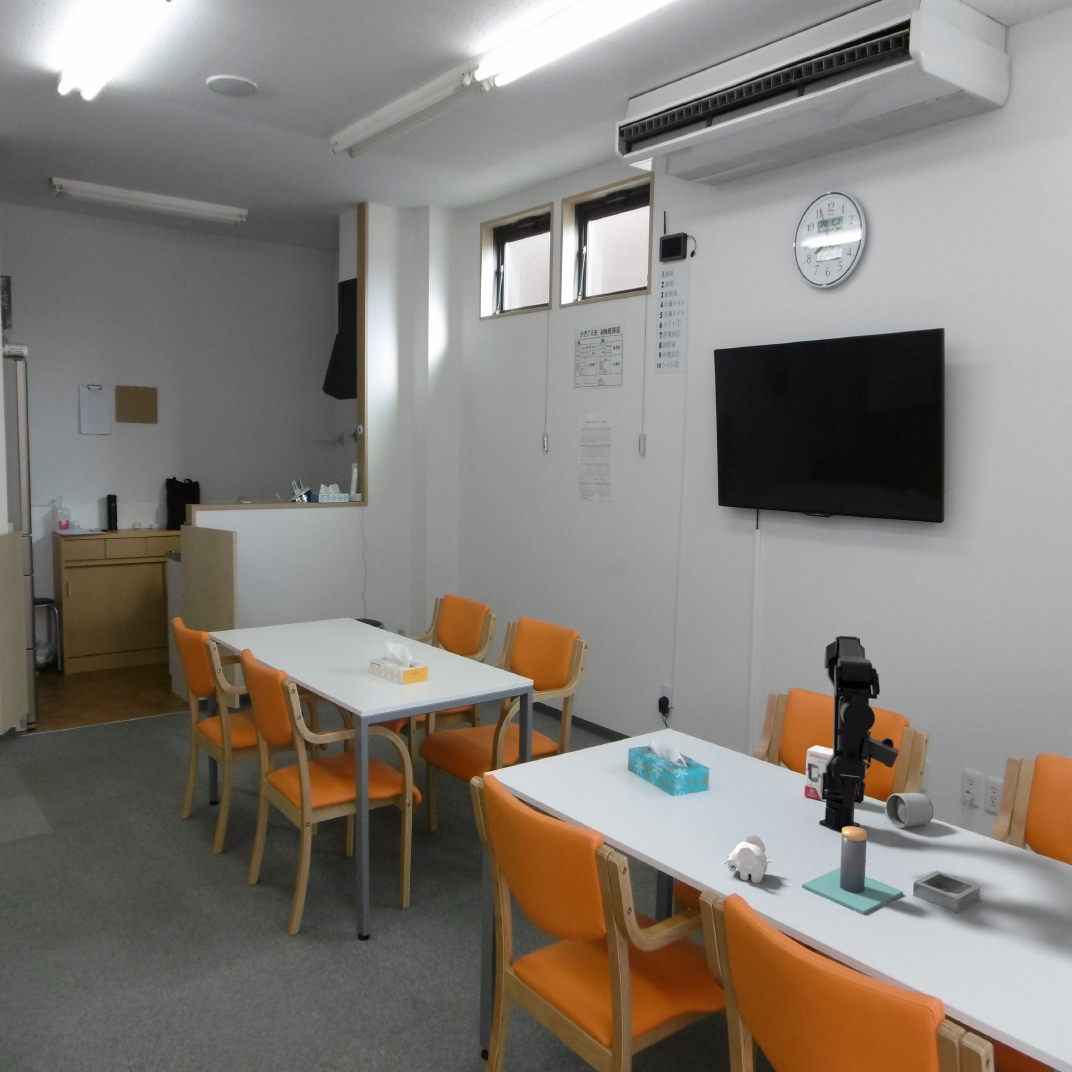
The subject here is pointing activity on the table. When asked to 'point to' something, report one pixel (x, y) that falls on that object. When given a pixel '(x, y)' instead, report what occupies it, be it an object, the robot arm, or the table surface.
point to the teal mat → (858, 902)
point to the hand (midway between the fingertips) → (851, 803)
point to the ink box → (816, 770)
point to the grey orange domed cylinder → (853, 859)
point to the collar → (928, 892)
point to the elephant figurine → (749, 859)
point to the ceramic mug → (909, 809)
